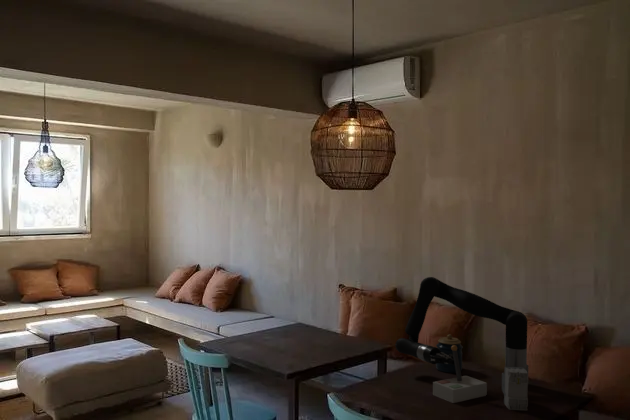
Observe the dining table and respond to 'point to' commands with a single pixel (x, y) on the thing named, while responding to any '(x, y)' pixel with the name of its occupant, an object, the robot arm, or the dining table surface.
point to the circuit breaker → (515, 388)
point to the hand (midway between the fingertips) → (455, 362)
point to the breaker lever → (456, 363)
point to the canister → (445, 348)
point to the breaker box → (459, 389)
